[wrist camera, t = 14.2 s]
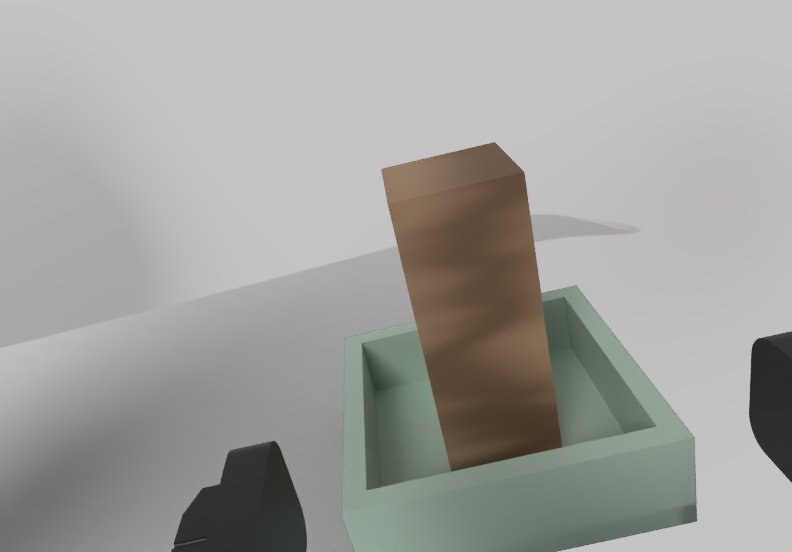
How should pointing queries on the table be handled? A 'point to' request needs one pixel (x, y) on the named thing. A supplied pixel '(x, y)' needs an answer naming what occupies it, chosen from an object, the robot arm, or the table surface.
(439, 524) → the tray
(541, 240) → the table surface
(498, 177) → the block
